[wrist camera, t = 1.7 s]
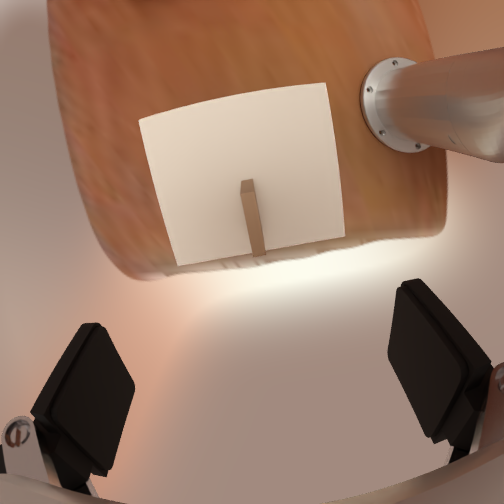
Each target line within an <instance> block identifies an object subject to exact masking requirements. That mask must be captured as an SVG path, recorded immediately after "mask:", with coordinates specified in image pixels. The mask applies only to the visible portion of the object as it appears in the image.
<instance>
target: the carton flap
mask: <svg viewBox="0 0 504 504" xmlns="http://www.w3.org/2000/svg"><path fill="white" fill-rule="evenodd" d="M139 125H140V129H141V134H142V138H143V142H144V147H145V151H146V155H147V159H148V163H149V167H150V171H151V175H152V179H153V183H154V186H155V190H156V194H157V197H158V201H159V205H160V208H161V212H162V215H163V219H164V222H165V226H166V229H167V232H168V236H169V239H170V242H171V246H172V249H173V252H174V255H175V258H176V262H177V265H178V266H182V265H187V264H193V263H198V262H204V261H210V260H215V259H221V258H226V257H232V256H238V255H243V254H249V253H252V254H253V257H257V256H262V255H266V250H271V249H277V248H282V247H288V246H294V245H299V244H305V243H310V242H316V241H322V240H327V239H333V238H338V237H344V236H345V228H344V215H343V204H342V193H341V184H340V175H339V166H338V158H337V151H336V143H335V136H334V130H333V123H332V117H331V111H330V105H329V99H328V94H327V88H326V83H316V84H305V85H296V86H288V87H280V88H273V89H267V90H260V91H254V92H248V93H243V94H237V95H232V96H227V97H223V98H218V99H213V100H209V101H204V102H200V103H196V104H192V105H188V106H184V107H180V108H177V109H173V110H169V111H166V112H162V113H159V114H156V115H152V116H149V117H146V118H143V119H140V120H139Z"/></svg>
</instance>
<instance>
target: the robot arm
mask: <svg viewBox="0 0 504 504" xmlns="http://www.w3.org/2000/svg"><path fill="white" fill-rule="evenodd" d="M392 63H393V64H394V65H393V64H392ZM366 88H367V89H368V90H369V91H368V92H367V90H366ZM360 102H361V109H362V113H363V116H364V119H365V121H366V123H367V125H368V127H369V129H370V130H371V131H372V133H373V134H374V135H375V136H376V137H377V139H378V140H379V141H380V142H382V143H383V144H385V145H386V146H387V147H390V148H392V149H394V150H397V151H400V152H406V153H415V152H420V151H423V150H425V149H427V148H428V147H430V146H434V147H438V148H442V149H447V150H451V151H455V152H459V153H462V154H466V155H470V156H473V157H477V158H480V159H483V160H487V161H490V162H495V163H504V47H501V48H495V49H490V50H484V51H478V52H472V53H466V54H460V55H455V56H450V57H444V58H440V59H435V60H430V61H426V62H422V63H417V62H415V61H412V60H410V59H407V58H401V57H395V58H389V59H385V60H383V61H381V62H378V63H377V64H376V65H374V66H373V67H372V68H371V69H370V70H369V71H368V73H367V74H366V76H365V78H364V80H363V83H362V87H361V95H360ZM379 131H381V134H379ZM415 145H416V147H415ZM388 359H389V361H390V363H391V365H392V367H393V369H394V371H395V373H396V375H397V377H398V379H399V381H400V383H401V385H402V387H403V389H404V391H405V393H406V395H407V397H408V399H409V402H410V403H411V405H412V408H413V410H414V412H415V414H416V416H417V418H418V420H419V423H420V425H421V427H422V429H423V432H424V434H425V436H426V437H428V438H429V437H431V439H432V441H433V443H434V444H436V443H438V442H440V441H443V440H445V439H447V440H448V442H449V444H450V449H449V452H448V455H447V458H446V461H445V463H444V466H443V467H441V468H439V469H436V470H434V471H431V472H429V473H426V474H424V475H421V476H418V477H416V478H413V479H410V480H407V481H405V482H402V483H399V484H396V485H393V486H390V487H387V488H384V489H380V490H377V491H374V492H370V493H366V494H363V495H359V496H355V497H350V498H346V499H342V500H337V501H332V502H328V503H322V504H504V362H503V363H500V364H498V365H497V366H496V367H495V368H493V366H492V365H491V360H490V359H489V358H488V356H487V355H486V354H485V352H484V351H483V350H482V349H481V347H480V346H479V345H478V344H477V342H476V341H475V340H474V339H473V337H472V336H471V335H470V334H469V333H468V331H467V330H466V329H465V328H464V327H463V325H462V324H461V323H460V322H459V321H458V320H457V319H456V317H455V316H454V315H453V314H452V313H451V312H450V310H449V309H448V308H447V307H446V306H445V305H444V304H443V303H442V301H441V300H440V299H439V298H438V297H437V296H436V295H435V294H434V293H433V292H432V291H431V289H430V288H429V287H428V286H427V285H426V284H425V283H424V282H423V281H422V280H421V279H419V278H418V279H413V280H408V281H404V282H402V284H401V287H398V288H397V291H396V298H395V306H394V314H393V321H392V327H391V334H390V340H389V345H388ZM134 392H135V384H134V381H133V380H132V378H131V376H130V374H129V372H128V371H127V369H126V367H125V365H124V363H123V361H122V360H121V358H120V356H119V354H118V352H117V350H116V348H115V346H114V344H113V342H112V340H111V338H110V336H109V334H108V332H107V330H106V328H104V327H102V326H101V325H100V324H99V323H85V324H82V325H81V327H80V328H79V329H78V331H77V333H76V334H75V336H74V337H73V339H72V340H71V342H70V344H69V345H68V347H67V348H66V350H65V352H64V353H63V355H62V356H61V359H60V360H59V361H58V363H57V365H56V366H55V368H54V370H53V372H52V373H51V375H50V377H49V379H48V380H47V382H46V384H45V386H44V387H43V389H42V391H41V393H40V395H39V396H38V398H37V400H36V402H35V404H34V406H33V408H32V409H31V411H30V413H31V414H32V415H33V416H34V417H35V420H34V421H32V420H31V419H30V418H29V417H26V416H18V417H15V418H14V419H12V420H10V421H9V423H8V424H7V425H6V426H5V428H4V430H3V433H2V444H1V445H0V504H125V503H120V502H115V501H110V500H106V499H102V498H99V497H98V494H97V492H96V490H95V488H94V486H93V484H92V482H91V480H90V478H89V477H90V473H92V474H93V475H98V476H103V477H107V474H108V470H110V469H111V468H112V466H113V463H114V460H115V456H116V452H117V449H118V445H119V442H120V438H121V435H122V431H123V428H124V425H125V421H126V418H127V415H128V411H129V408H130V405H131V402H132V399H133V395H134Z"/></svg>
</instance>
